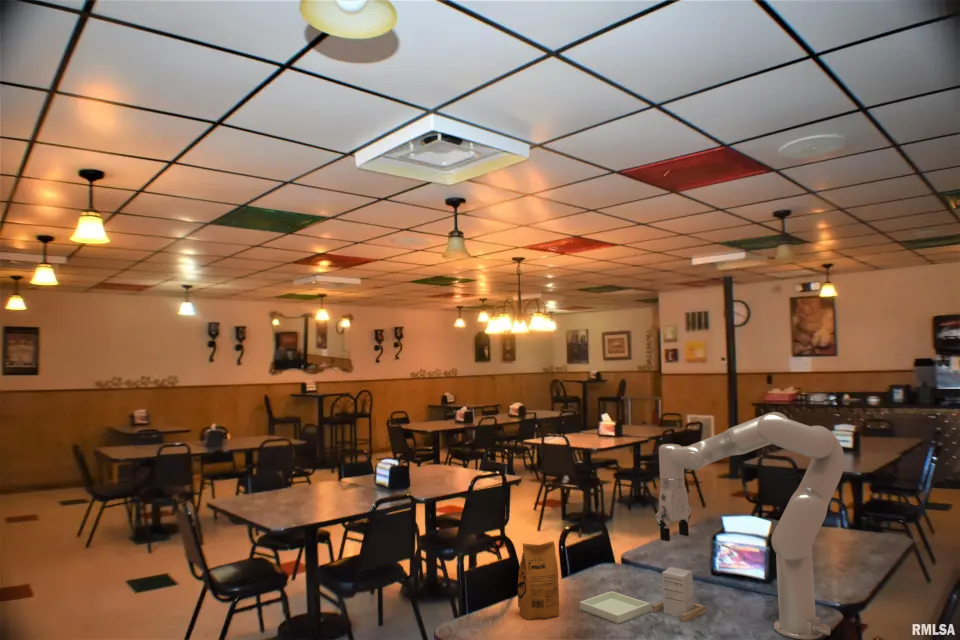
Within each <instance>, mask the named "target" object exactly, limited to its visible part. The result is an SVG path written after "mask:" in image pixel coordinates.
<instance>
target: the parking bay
mask: <svg viewBox="0 0 960 640" xmlns="http://www.w3.org/2000/svg"><path fill="white" fill-rule="evenodd" d="M651 606H652V607H651V611H652V612H651V613H658V612H660V611H664V607H663V600H662V601H660V602H657V603H654V604H652V605H651ZM706 612H707V611H706V605H702V604H700V603H699V604H698V603H696V602H694V609H693V610H691V611H689V612H686V613H684V614H681V617H680V622H681V621H682V622H681V623H686V622H688V620H689V621H691V620H693V619H695V617H696V618H698V617H700V616H702V615H704V613H705V614H706ZM699 615H700V616H699ZM697 616H698V617H697ZM690 619H691V620H690Z"/></svg>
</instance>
